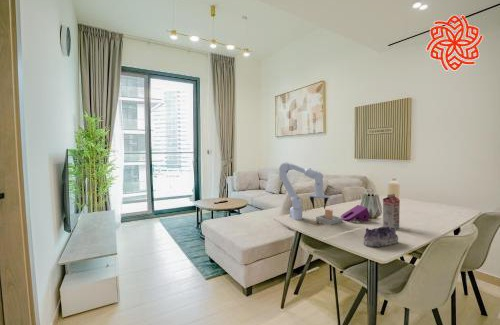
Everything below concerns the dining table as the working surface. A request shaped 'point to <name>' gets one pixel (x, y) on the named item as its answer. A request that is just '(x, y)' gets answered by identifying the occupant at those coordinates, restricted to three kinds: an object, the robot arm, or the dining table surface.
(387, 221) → the juice carton
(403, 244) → the dining table surface
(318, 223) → the stud plate
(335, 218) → the bin
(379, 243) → the geode
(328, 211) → the salmon brown block
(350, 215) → the mounting bracket
